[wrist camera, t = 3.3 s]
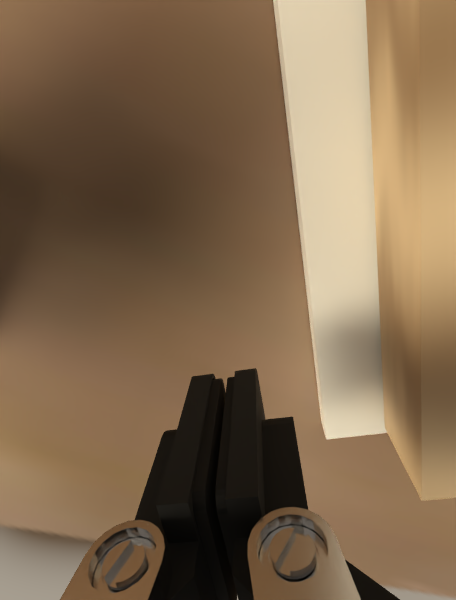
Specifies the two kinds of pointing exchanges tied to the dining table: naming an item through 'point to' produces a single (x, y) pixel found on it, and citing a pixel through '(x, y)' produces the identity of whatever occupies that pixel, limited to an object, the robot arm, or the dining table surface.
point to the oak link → (416, 230)
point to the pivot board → (335, 203)
